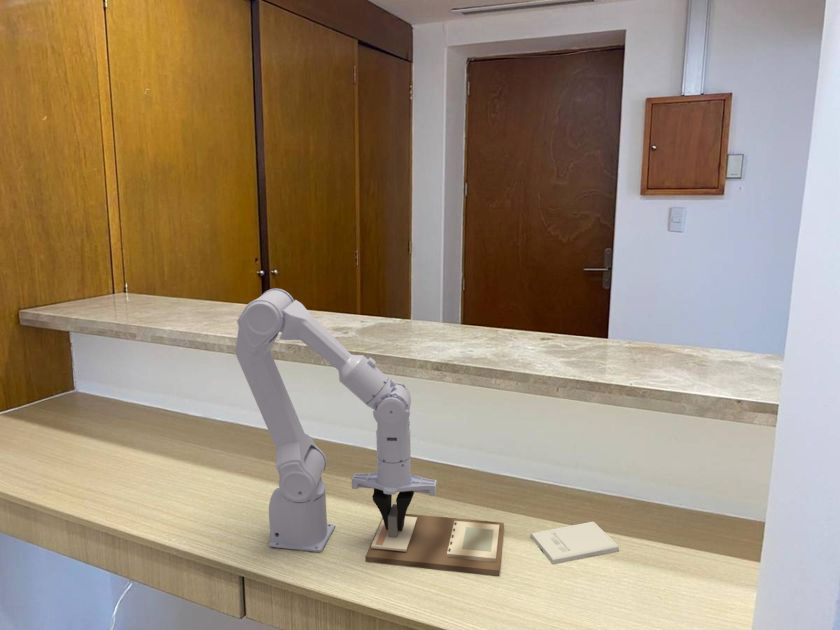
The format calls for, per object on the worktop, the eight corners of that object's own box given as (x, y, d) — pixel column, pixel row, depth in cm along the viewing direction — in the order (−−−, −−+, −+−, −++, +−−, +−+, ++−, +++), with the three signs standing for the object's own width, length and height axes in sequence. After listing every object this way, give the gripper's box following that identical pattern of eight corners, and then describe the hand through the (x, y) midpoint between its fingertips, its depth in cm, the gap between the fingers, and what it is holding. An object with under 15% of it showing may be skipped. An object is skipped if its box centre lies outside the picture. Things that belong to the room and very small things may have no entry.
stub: (371, 548, 107) (370, 524, 106) (384, 516, 116) (384, 494, 115) (406, 551, 106) (406, 527, 105) (417, 519, 115) (416, 497, 114)
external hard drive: (618, 554, 108) (552, 567, 104) (592, 528, 116) (530, 539, 112) (618, 545, 107) (552, 558, 104) (592, 520, 115) (530, 531, 112)
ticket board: (365, 561, 105) (365, 552, 105) (384, 516, 119) (384, 507, 118) (499, 575, 101) (499, 565, 101) (503, 527, 115) (503, 518, 114)
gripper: (345, 463, 105) (348, 536, 108) (432, 469, 102) (432, 544, 106) (357, 444, 112) (359, 514, 115) (438, 450, 109) (438, 521, 112)
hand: (394, 527), depth 111 cm, fingers closed on stub
